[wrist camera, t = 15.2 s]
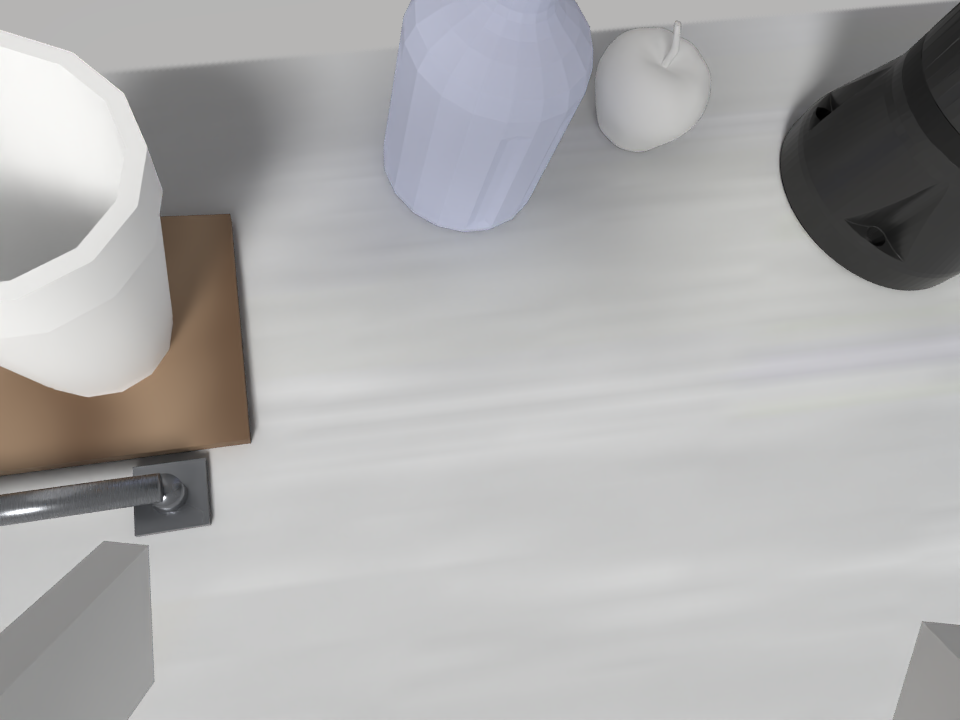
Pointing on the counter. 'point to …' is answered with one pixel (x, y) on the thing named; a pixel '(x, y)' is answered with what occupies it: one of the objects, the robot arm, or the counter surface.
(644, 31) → the plain white apple
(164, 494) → the rail
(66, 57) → the foam cup
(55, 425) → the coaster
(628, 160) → the counter surface
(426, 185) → the soap bottle
